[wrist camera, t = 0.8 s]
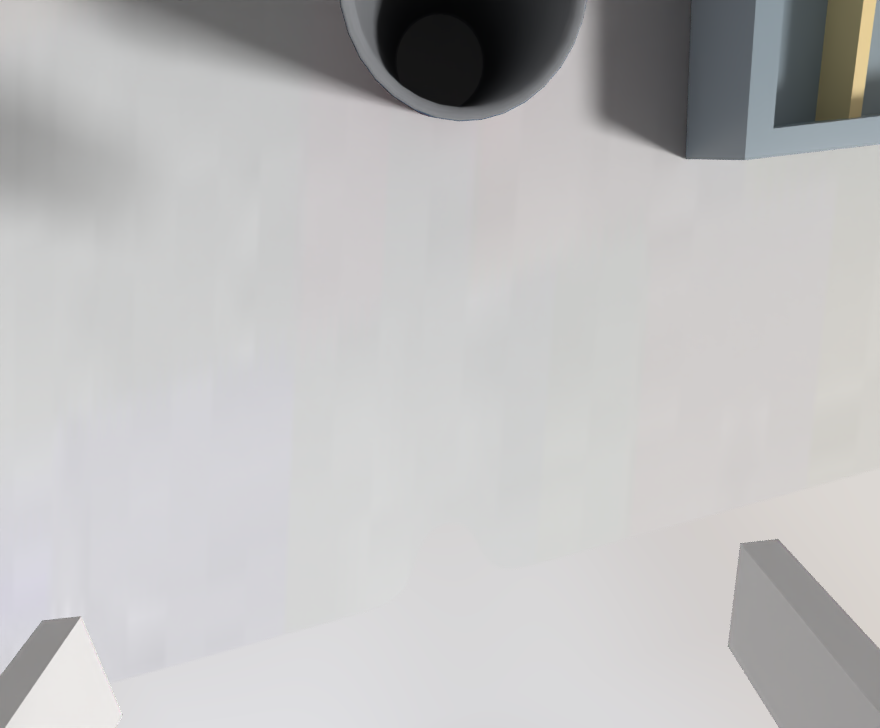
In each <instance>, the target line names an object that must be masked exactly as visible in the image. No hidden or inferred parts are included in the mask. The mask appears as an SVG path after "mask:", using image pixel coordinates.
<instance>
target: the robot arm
mask: <svg viewBox="0 0 880 728" xmlns="http://www.w3.org/2000/svg"><path fill="white" fill-rule="evenodd" d="M728 647H729V649H730V650H731V652H732V653H733V655H734V657H735V658H736V660H737V662H738V663H739V665H740V666H741V668H742V670H743V671H744V673H745V674H746V676H747V677H748V679H749V681H750V682H751V684H752V685H753V687H754V688H755V690H756V692H757V693H758V695H759V697H760V698H761V700H762V701H763V703H764V704H765V706H766V708H767V709H768V711H769V712H770V714H771V715H772V717H773V719H774V720H775V722H776V724H777V725H778V727H779V728H880V649H879V648H878V647H877V646H876V645H875V644H874V642H873V641H872V640H871V639H870V638H869V637H868V636H867V635H866V634H865V633H864V632H863V631H862V629H861V628H860V627H859V626H858V625H857V624H856V623H855V622H854V621H853V620H852V619H851V618H850V616H849V615H848V614H847V613H846V612H845V611H844V610H843V609H842V608H841V607H840V606H839V605H838V603H837V602H836V601H835V600H834V599H833V598H832V597H831V596H830V595H829V594H828V593H827V591H826V590H825V589H824V588H823V587H822V586H821V585H820V584H819V583H818V582H817V581H816V580H815V578H813V576H812V575H811V574H810V573H809V572H808V571H807V570H806V569H805V568H804V567H803V566H802V564H801V563H800V562H799V561H798V560H797V559H796V558H795V557H794V556H793V555H792V554H791V553H790V551H789V550H787V548H786V547H785V546H784V545H783V544H782V543H781V542H780V541H779V540H778V539H775V540H766V541H757V542H748V543H740V550H739V559H738V567H737V576H736V583H735V592H734V600H733V608H732V616H731V625H730V633H729V641H728ZM122 715H123V714H122V712H121V710H120V707H119V705H118V703H117V700H116V698H115V695H114V693H113V691H112V688H111V686H110V683H109V681H108V679H107V676H106V674H105V672H104V669H103V667H102V664H101V662H100V660H99V657H98V655H97V653H96V650H95V648H94V645H93V643H92V641H91V638H90V636H89V634H88V631H87V629H86V626H85V624H84V622H83V619H82V617H81V616H80V617H71V618H62V619H53V620H44V621H42V622H41V623H40V624H39V626H38V627H37V628H36V629H35V631H34V632H33V633H32V635H31V636H30V637H29V639H28V640H27V641H26V643H25V644H24V645H23V647H22V648H21V649H20V651H19V652H18V653H17V654H16V656H15V657H14V658H13V660H12V661H11V662H10V664H9V665H8V666H7V668H6V669H5V670H4V672H3V673H2V674H1V676H0V728H116V727H117V725H118V723H119V721H120V719H121V717H122Z"/></svg>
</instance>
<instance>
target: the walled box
mask: <svg viewBox="0 0 880 728" xmlns="http://www.w3.org/2000/svg"><path fill="white" fill-rule="evenodd" d="M878 144H880V0H691V27H690V55H689V82H688V109H687V136H686V159H717V160H749V159H758V158H766V157H775V156H783V155H792V154H801V153H809V152H818V151H826V150H835V149H843V148H852V147H860V146H869V145H878Z"/></svg>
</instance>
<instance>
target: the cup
mask: <svg viewBox="0 0 880 728" xmlns="http://www.w3.org/2000/svg"><path fill="white" fill-rule="evenodd" d="M586 2H587V0H340V4H341V9H342V13H343V16H344V20H345V23H346V27H347V31H348V34H349V36H350V38H351V40H352V42H353V44H354V46H355V49H356V51H357V53H358V55H359V57H360V59H361V60H362V62H363V63H364V64H365V66H366V67H367V68H368V70H369V71H370V73H371V74H372V75H373V77H374V78H375V79H376V80H377V81H378V82H379V83H380V84H381V85H382V86H383V87H384V88H385V89H386V90H387V91H388V92H389V93H390V94H391V95H392V96H393V97H395V98H397V99H398V100H400V101H401V102H403V103H404V104H406V105H408V106H409V107H411V108H412V109H414V110H416V111H417V112H419V113H421V114H423V115H426V116H429V117H434V118H441V119H447V120H454V121H469V120H482V119H486V118H489V117H493V116H496V115H500V114H503V113H506V112H507V111H509V110H511V109H513V108H515V107H517V106H519V105H521V104H523V103H525V102H526V101H527V100H528V99H530V98H531V97H532V96H533V95H535V94H536V93H537V92H538V91H540V90H541V89H542V88H543V87H544V86H545V85H546V84H547V83H548V82H549V80H550V79H551V78H552V77H553V76H554V75H555V73H556V72H557V71H558V70H559V69H560V68H561V66H562V64H563V62H564V61H565V59H566V57H567V55H568V54H569V52H570V50H571V49H572V47H573V45H574V43H575V40H576V37H577V35H578V32H579V29H580V26H581V24H582V21H583V18H584V12H585V7H586Z"/></svg>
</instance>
